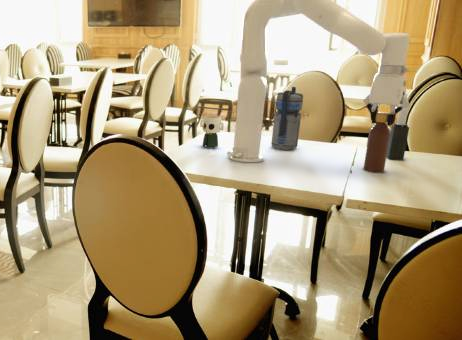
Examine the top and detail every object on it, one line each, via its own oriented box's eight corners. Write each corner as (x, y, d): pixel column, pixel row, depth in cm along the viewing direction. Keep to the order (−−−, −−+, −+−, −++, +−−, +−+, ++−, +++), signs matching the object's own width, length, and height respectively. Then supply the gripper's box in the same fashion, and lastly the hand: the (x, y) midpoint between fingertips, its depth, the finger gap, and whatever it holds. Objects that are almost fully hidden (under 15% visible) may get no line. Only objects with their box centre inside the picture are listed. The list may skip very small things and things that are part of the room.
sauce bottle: (383, 173, 178) (393, 116, 173) (362, 170, 181) (371, 114, 176) (384, 169, 183) (394, 114, 178) (364, 166, 186) (373, 112, 181)
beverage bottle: (265, 149, 211) (272, 88, 205) (275, 144, 222) (282, 85, 215) (291, 153, 205) (299, 90, 199) (300, 147, 216) (307, 87, 209)
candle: (389, 159, 198) (401, 94, 191) (385, 156, 202) (396, 92, 196) (404, 160, 196) (416, 95, 190) (399, 157, 201) (411, 93, 194)
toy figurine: (194, 146, 215) (196, 115, 211) (203, 144, 220) (205, 113, 216) (217, 151, 207) (219, 119, 204) (226, 148, 212) (228, 117, 209)
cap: (376, 120, 180) (377, 111, 179) (389, 121, 178) (390, 112, 177) (374, 121, 177) (376, 112, 176) (387, 123, 175) (389, 113, 174)
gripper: (423, 72, 169) (413, 126, 174) (369, 68, 181) (361, 119, 186) (415, 73, 164) (404, 129, 169) (360, 69, 177) (352, 121, 182)
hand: (382, 123), depth 178 cm, fingers open, 4 cm apart
